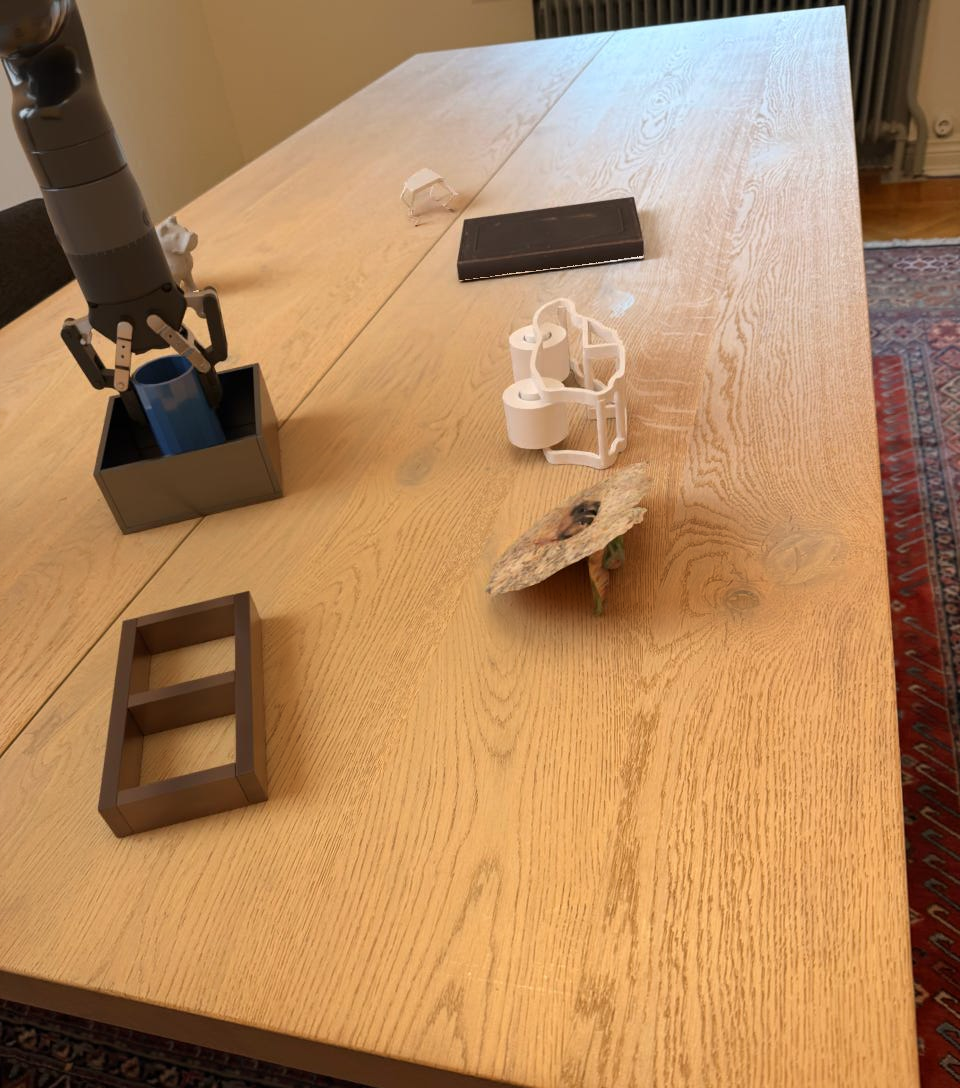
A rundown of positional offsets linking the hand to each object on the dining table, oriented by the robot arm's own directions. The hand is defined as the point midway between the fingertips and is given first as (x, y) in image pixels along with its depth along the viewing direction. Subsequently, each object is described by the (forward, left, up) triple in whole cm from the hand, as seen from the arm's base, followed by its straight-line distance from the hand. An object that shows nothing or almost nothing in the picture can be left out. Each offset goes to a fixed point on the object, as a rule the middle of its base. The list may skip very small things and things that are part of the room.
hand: (180, 412), depth 88 cm
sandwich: (+30, -28, -7) cm, 42 cm away
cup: (0, 0, -5) cm, 5 cm away
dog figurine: (-5, +49, -7) cm, 50 cm away
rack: (0, -34, -7) cm, 35 cm away
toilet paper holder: (+36, -5, -7) cm, 37 cm away
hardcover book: (+45, +37, -7) cm, 59 cm away
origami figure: (+33, +61, -7) cm, 70 cm away
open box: (0, 0, -7) cm, 7 cm away
